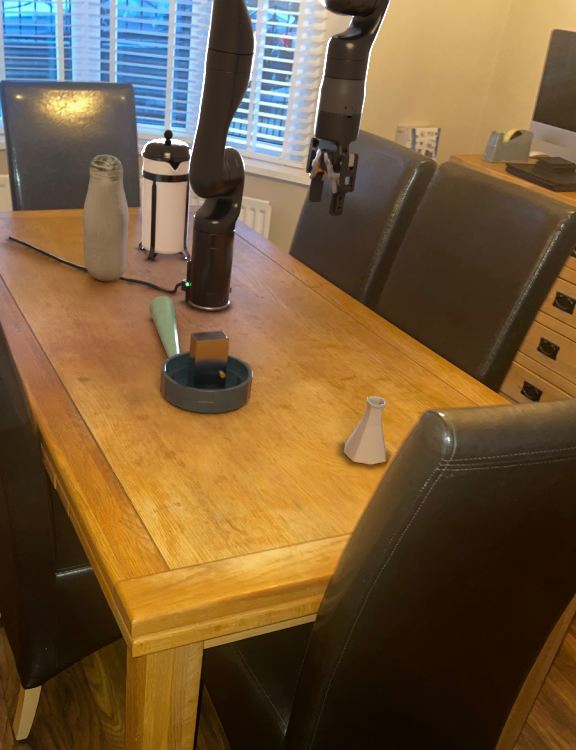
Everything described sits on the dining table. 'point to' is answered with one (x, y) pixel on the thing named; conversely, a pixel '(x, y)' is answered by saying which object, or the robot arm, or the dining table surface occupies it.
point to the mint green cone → (166, 323)
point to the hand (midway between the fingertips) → (324, 208)
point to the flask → (368, 435)
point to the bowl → (204, 399)
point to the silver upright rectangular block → (208, 360)
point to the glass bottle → (105, 220)
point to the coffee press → (165, 196)
